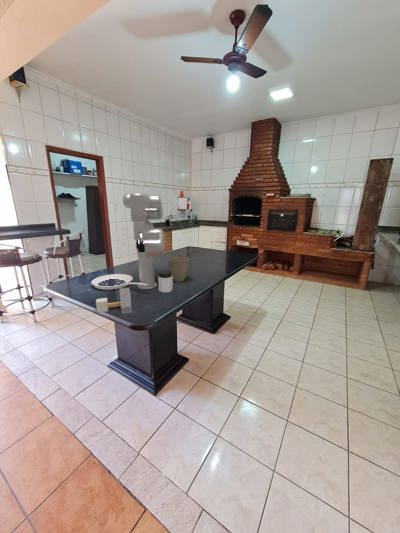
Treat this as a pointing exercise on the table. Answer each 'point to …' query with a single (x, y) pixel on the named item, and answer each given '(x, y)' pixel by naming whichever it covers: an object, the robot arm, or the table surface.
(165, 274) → the jar
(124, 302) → the block
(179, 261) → the plant pot
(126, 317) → the table surface
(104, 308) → the block ended dumbbell
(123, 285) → the pan
